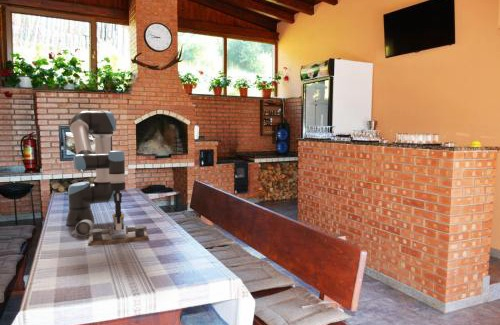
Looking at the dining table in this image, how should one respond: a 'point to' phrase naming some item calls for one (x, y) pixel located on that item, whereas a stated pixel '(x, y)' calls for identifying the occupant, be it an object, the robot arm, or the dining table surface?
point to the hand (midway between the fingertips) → (118, 228)
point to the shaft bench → (118, 235)
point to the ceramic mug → (83, 228)
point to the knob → (121, 221)
